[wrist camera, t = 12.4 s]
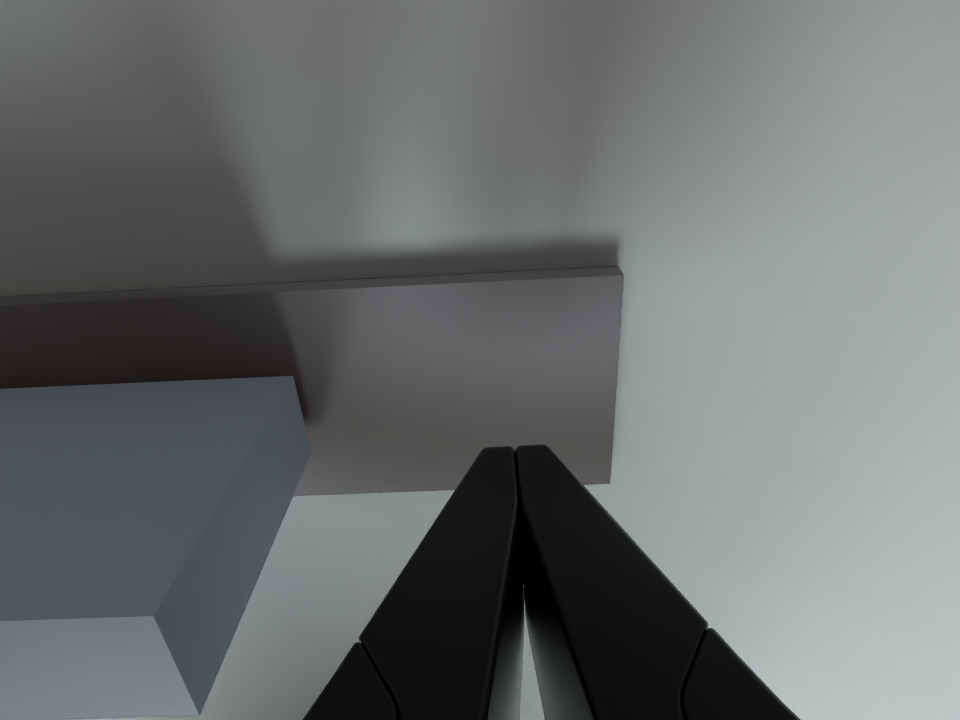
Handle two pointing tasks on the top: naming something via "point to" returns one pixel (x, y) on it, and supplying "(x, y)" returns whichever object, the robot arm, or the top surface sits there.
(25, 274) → the top surface
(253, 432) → the grey flat block
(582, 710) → the robot arm
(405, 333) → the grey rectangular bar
